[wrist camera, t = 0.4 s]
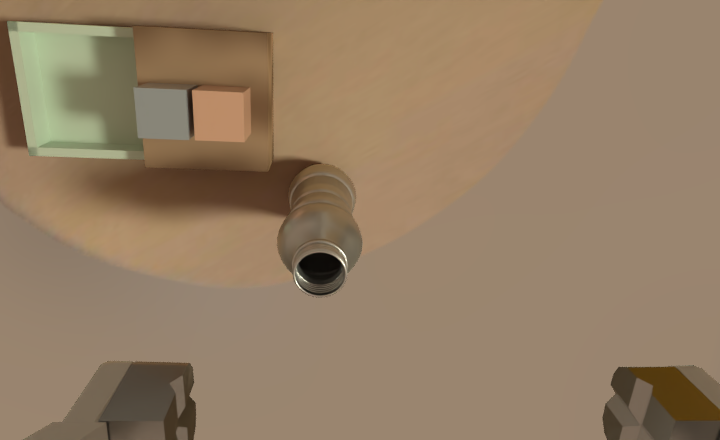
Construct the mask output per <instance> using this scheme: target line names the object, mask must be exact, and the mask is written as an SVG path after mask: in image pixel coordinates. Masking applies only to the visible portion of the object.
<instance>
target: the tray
mask: <svg viewBox="0 0 720 440" xmlns="http://www.w3.org/2000/svg"><path fill="white" fill-rule="evenodd" d="M7 25H8V31H9V37H10V43H11V49H12V55H13V61H14V67H15V73H16V79H17V85H18V91H19V97H20V103H21V109H22V115H23V121H24V127H25V133H26V139H27V145H28V151H29V156H53V157H80V158H108V159H136V160H144V149H143V138H138V132H137V121H136V110H135V100H134V89H133V87H137V86H138V82H137V71H136V60H135V49H134V38H133V27H117V26H99V25H80V24H62V23H44V22H26V21H7Z"/></svg>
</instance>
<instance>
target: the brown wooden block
mask: <svg viewBox="0 0 720 440" xmlns="http://www.w3.org/2000/svg"><path fill="white" fill-rule="evenodd" d="M132 27H133V38H134V49H135V60H136V71H137V82H138V86H140V85H143V84H146V83H169V84H191V85H197V88H198V87H200V86H202V85H212V86H233V87H250V102H251V134H250V135H249V137H248V138H247V140H246V141H245V142H223V141H197V140H195V135H194V136H193V137H192V138H191V139H189V140H172V139H146V138H143V149H144V160H145V167H146V168H174V169H203V170H231V171H259V172H268V171H269V169H270V166H271V164H272V161H273V33H267V32H249V31H231V30H213V29H195V28H177V27H159V26H132Z"/></svg>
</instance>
